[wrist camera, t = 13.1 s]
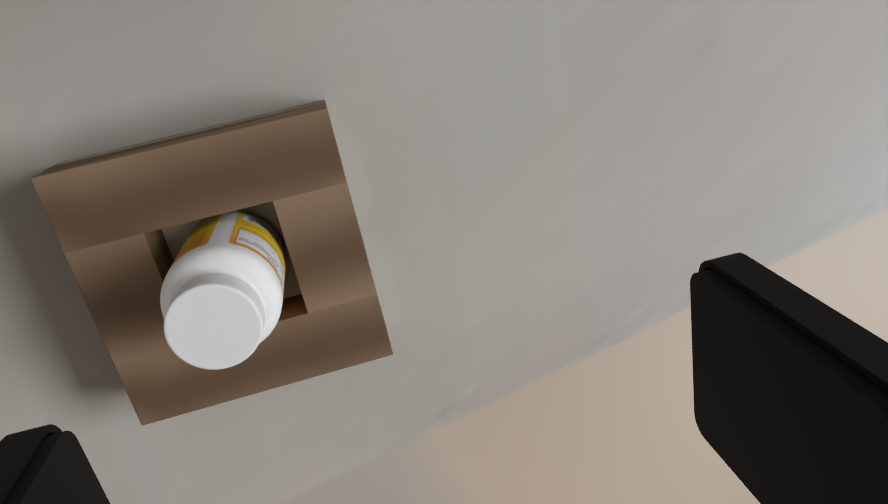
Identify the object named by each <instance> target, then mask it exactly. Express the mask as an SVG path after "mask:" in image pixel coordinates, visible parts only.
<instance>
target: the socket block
mask: <svg viewBox="0 0 888 504" xmlns="http://www.w3.org/2000/svg"><path fill="white" fill-rule="evenodd" d="M31 181H32V183H33V185H34V188H35V190H36V192H37V194H38V197H39V199H40V201H41V203H42V205H43V208H44V210H45V212H46V214H47V216H48V219H49V221H50V223H51V225H52V228H53V230H54V232H55V234H56V236H57V239H58V241H59V243H60V245H61V248H62V250H63V252H64V254H65V256H66V259H67V261H68V263H69V265H70V267H71V270H72V272H73V274H74V276H75V279H76V281H77V283H78V285H79V287H80V290H81V292H82V294H83V296H84V299H85V301H86V303H87V305H88V307H89V310H90V312H91V314H92V316H93V318H94V321H95V323H96V325H97V327H98V330H99V332H100V334H101V336H102V338H103V341H104V343H105V345H106V347H107V350H108V352H109V354H110V356H111V358H112V361H113V363H114V365H115V367H116V369H117V372H118V374H119V376H120V378H121V381H122V383H123V385H124V387H125V389H126V392H127V394H128V396H129V398H130V401H131V403H132V405H133V407H134V409H135V412H136V414H137V416H138V418H139V420H140V423H141V425H146V424H149V423H153V422H156V421H160V420H164V419H167V418H171V417H174V416H178V415H181V414H185V413H188V412H192V411H195V410H199V409H202V408H206V407H209V406H213V405H216V404H220V403H223V402H227V401H231V400H234V399H238V398H241V397H245V396H248V395H252V394H255V393H259V392H262V391H266V390H269V389H273V388H276V387H280V386H283V385H287V384H290V383H294V382H298V381H301V380H305V379H308V378H312V377H315V376H319V375H322V374H326V373H329V372H333V371H336V370H340V369H343V368H347V367H350V366H354V365H358V364H361V363H365V362H368V361H372V360H375V359H379V358H382V357H386V356H389V355H393V352H392V349H391V345H390V341H389V337H388V333H387V329H386V325H385V322H384V318H383V314H382V310H381V307H380V303H379V299H378V296H377V292H376V288H375V284H374V281H373V277H372V273H371V270H370V266H369V262H368V259H367V255H366V251H365V247H364V244H363V240H362V236H361V233H360V229H359V225H358V221H357V218H356V214H355V210H354V207H353V203H352V199H351V195H350V192H349V188H348V184H347V181H346V177H345V173H344V170H343V166H342V162H341V158H340V155H339V151H338V147H337V144H336V140H335V136H334V132H333V129H332V125H331V121H330V118H329V114H328V110H327V106H326V103H325V100H323V101H319V102H314V103H310V104H306V105H302V106H297V107H293V108H289V109H285V110H280V111H276V112H272V113H268V114H263V115H259V116H255V117H251V118H246V119H242V120H238V121H234V122H230V123H225V124H221V125H217V126H213V127H208V128H204V129H200V130H196V131H191V132H187V133H183V134H179V135H174V136H170V137H166V138H162V139H157V140H153V141H149V142H145V143H140V144H136V145H132V146H128V147H123V148H119V149H115V150H111V151H107V152H102V153H98V154H94V155H90V156H85V157H81V158H77V159H73V160H68V161H64V162H61V163H59V164H57V165H55V166H53V167H51V168H49V169H48V170H46V171H44V172H42V173H40V174H38V175H36V176H35V177H33V178H31ZM239 209H244V210H249V211H252V212H255V213H257V214H259V215H261V216H263V217H264V218H266V219H267V220H269V221H270V222H271V223H272V224H273V225H274V226H275V227H276V229H277V230H278V231H279V233H280V235H281V237H282V239H283V241H284V244H285V248H286V270H285V280H284V291H283V304H282V309H281V314H280V317H279V320H278V322H277V324H276V326H275V328H274V329H273V331H272V332H271V333H270V335H269V336H268V337H267V338H266V339H265V340H263V341H262V342H261V343H260V344H259V345H258V346H257V348H256V350H255V351H254V352H253V353H252V354H251V355H250V356H249V357H248V358H247V359H246V360H244V361H243V362H241V363H239V364H237V365H235V366H232V367H229V368H225V369H218V370H209V369H203V368H198V367H195V366H193V365H190V364H188V363H186V362H185V361H183V360H182V359H180V358H179V357H178V356H177V355H176V354H175V353H174V352H173V351H172V349H171V348H170V346H169V345H168V343H167V341H166V338H165V334H164V317H163V314H162V311H161V305H160V294H161V288H162V284H163V282H164V279H165V277H166V275H167V273H168V271H169V269H170V267H171V265H172V264H173V262H174V260H175V259H176V257H177V255H178V253H179V252H180V250H181V248H182V246H183V245H184V243H185V241H186V239H187V237H188V236H189V234H190V232H191V231H192V230H193V228H194V227H195V226H196V225H197V224H198V223H199V222H200V221H201V220H202V219H204V218H207V217H211V216H215V215H219V214H223V213H227V212H231V211H235V210H239Z"/></svg>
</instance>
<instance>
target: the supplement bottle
mask: <svg viewBox="0 0 888 504" xmlns="http://www.w3.org/2000/svg"><path fill="white" fill-rule="evenodd" d="M285 270H286V248H285V244H284V241H283V239H282V237H281V235H280V233H279V231H278V230H277V229H276V227H275V226H274V225H273V224H272V223H271V222H270V221H269V220H267V219H266V218H264V217H263V216H261V215H259V214H257V213H255V212H252V211H249V210H244V209H239V210H235V211H231V212H227V213H223V214H219V215H215V216H211V217H207V218H204V219H202V220H201V221H200V222H199V223H198V224H197V225H196V226H195V227H194V228H193V230H192V231H191V232H190V234H189V236H188V237H187V239H186V241H185V243H184V245H183V246H182V248H181V250H180V252H179V253H178V255H177V257H176V259H175V260H174V262H173V264H172V265H171V267H170V269H169V271H168V273H167V275H166V277H165V279H164V282H163V284H162V288H161V294H160V305H161V311H162V314H163V317H164V334H165V338H166V341H167V343H168V345H169V346H170V348H171V349H172V351H173V352H174V353H175V354H176V355H177V356H178V357H179V358H180V359H182V360H183V361H185V362H186V363H188V364H190V365H193V366H195V367H198V368H203V369H209V370H218V369H225V368H229V367H232V366H235V365H237V364H239V363H241V362H243V361H244V360H246V359H247V358H248V357H249V356H250V355H251V354H252V353H253V352H254V351H255V350H256V348H257V346H258V345H259V344H260V343H261V342H262V341H263V340H265V339H266V338H267V337H268V336H269V335H270V333H271V332H272V331H273V329H274V328H275V326H276V324H277V322H278V320H279V317H280V314H281V309H282V304H283V291H284V280H285Z"/></svg>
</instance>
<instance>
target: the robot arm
mask: <svg viewBox="0 0 888 504" xmlns="http://www.w3.org/2000/svg"><path fill="white" fill-rule="evenodd" d="M690 292H691V321H692V354H693V384H694V413H695V419H696V423H697V425H698V428H699V430H700V432H701V434H702V435H703V437H704V438H705V439H706V440H707V442H708V443H709V444H710V445H711V446H712V447H713V449H714V450H715V451H716V452H717V453H718V454H719V456H720V457H721V458H722V459H723V460H724V461H725V463H726V464H727V465H728V466H729V467H730V468H731V470H732V471H733V472H734V473H735V474H736V475H737V476H738V478H739V479H740V480H741V481H742V482H743V483H744V485H745V486H746V487H747V488H748V489H749V491H750V492H751V493H752V494H753V495H754V496H755V497H756V499H757V500H758V501H759V502H760V503H761V504H888V343H887V342H886V341H884V340H882V339H881V338H879V337H878V336H876V335H874V334H872V333H871V332H869V331H868V330H866V329H865V328H863V327H861V326H860V325H858V324H857V323H855V322H853V321H851V320H850V319H848V318H847V317H845V316H843V315H842V314H840V313H839V312H837V311H836V310H834V309H832V308H830V307H829V306H827V305H826V304H824V303H822V302H821V301H819V300H818V299H816V298H815V297H813V296H811V295H810V294H808V293H806V292H805V291H803V290H802V289H800V288H798V287H797V286H795V285H793V284H792V283H790V282H789V281H787V280H785V279H784V278H782V277H781V276H779V275H777V274H775V273H774V272H772V271H771V270H769V269H767V268H766V267H764V266H763V265H761V264H760V263H758V262H756V261H755V260H753V259H751V258H750V257H748V256H747V255H745V254H742V253H735V254H731V255H727V256H723V257H719V258H715V259H711V260H707V261H704V262H703V263H702V264H701V265H700V268H699V272H698V273H694V274H693V275H692V277H691V281H690ZM0 504H110V502H109V500H108V499H107V497H106V495H105V493H104V491H103V489H102V487H101V485H100V483H99V481H98V479H97V477H96V475H95V473H94V471H93V469H92V467H91V465H90V463H89V461H88V459H87V457H86V455H85V453H84V451H83V449H82V447H81V445H80V443H79V441H78V439H77V438H76V436H75V435H74V434H73V433H72V432H70V431H64V432H62V431H61V429H59V428H58V427H57V426H55V425H51V424H50V425H46V426H42V427H38V428H34V429H30V430H26V431H22V432H18V433H14V434H10V435H7V436H5V437H4V438H3V439H2V440H1V441H0Z"/></svg>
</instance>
